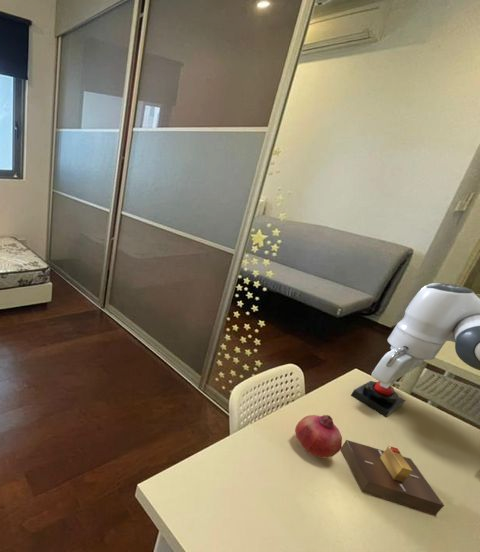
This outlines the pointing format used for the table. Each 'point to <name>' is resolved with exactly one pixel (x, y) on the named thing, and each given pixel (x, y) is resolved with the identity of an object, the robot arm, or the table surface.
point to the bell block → (377, 399)
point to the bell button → (384, 389)
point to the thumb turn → (396, 464)
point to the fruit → (319, 435)
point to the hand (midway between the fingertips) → (385, 385)
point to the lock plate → (389, 479)
